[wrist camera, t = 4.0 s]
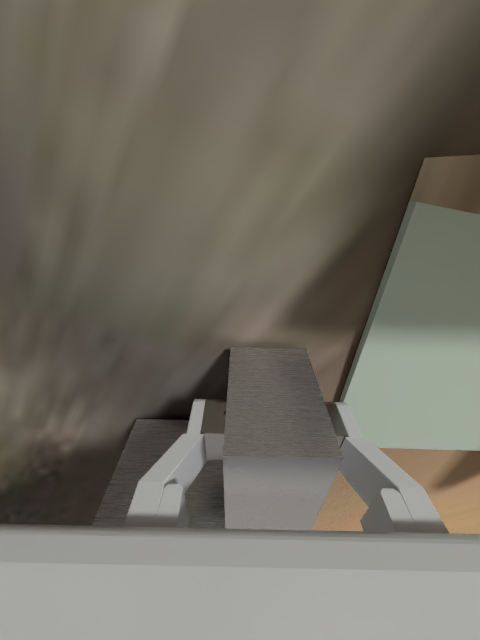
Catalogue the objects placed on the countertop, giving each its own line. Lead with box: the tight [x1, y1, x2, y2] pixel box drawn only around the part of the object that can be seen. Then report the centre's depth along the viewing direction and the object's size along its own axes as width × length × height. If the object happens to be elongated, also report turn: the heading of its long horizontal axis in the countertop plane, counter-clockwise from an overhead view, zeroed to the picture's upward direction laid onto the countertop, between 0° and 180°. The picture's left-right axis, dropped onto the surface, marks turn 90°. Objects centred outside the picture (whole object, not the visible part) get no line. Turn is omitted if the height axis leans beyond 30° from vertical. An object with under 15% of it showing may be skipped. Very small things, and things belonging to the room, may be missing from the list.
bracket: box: [91, 347, 344, 530], centre depth 12 cm, size 9×9×5 cm
